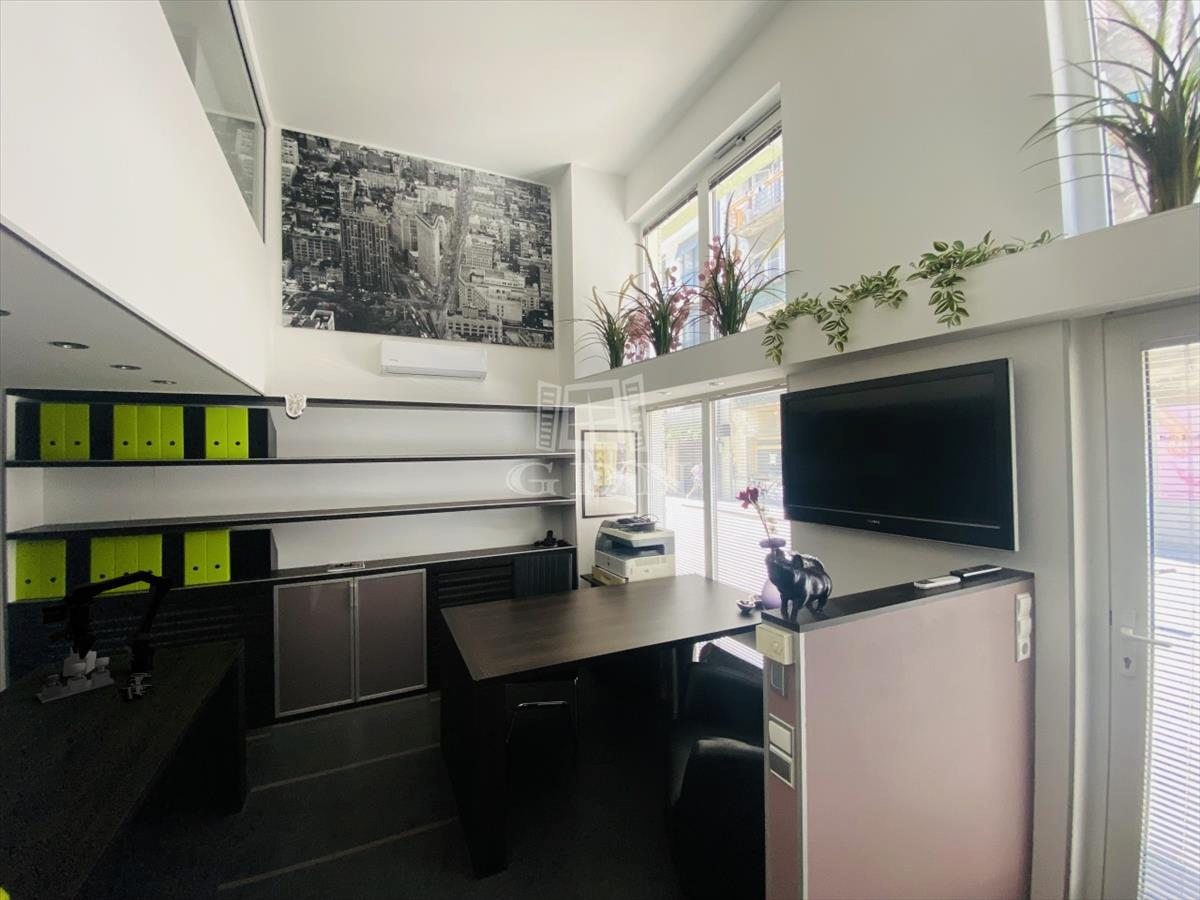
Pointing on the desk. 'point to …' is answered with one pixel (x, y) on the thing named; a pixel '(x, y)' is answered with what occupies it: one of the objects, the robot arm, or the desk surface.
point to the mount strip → (74, 686)
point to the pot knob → (52, 680)
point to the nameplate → (137, 686)
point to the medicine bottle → (75, 659)
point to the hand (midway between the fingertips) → (78, 656)
